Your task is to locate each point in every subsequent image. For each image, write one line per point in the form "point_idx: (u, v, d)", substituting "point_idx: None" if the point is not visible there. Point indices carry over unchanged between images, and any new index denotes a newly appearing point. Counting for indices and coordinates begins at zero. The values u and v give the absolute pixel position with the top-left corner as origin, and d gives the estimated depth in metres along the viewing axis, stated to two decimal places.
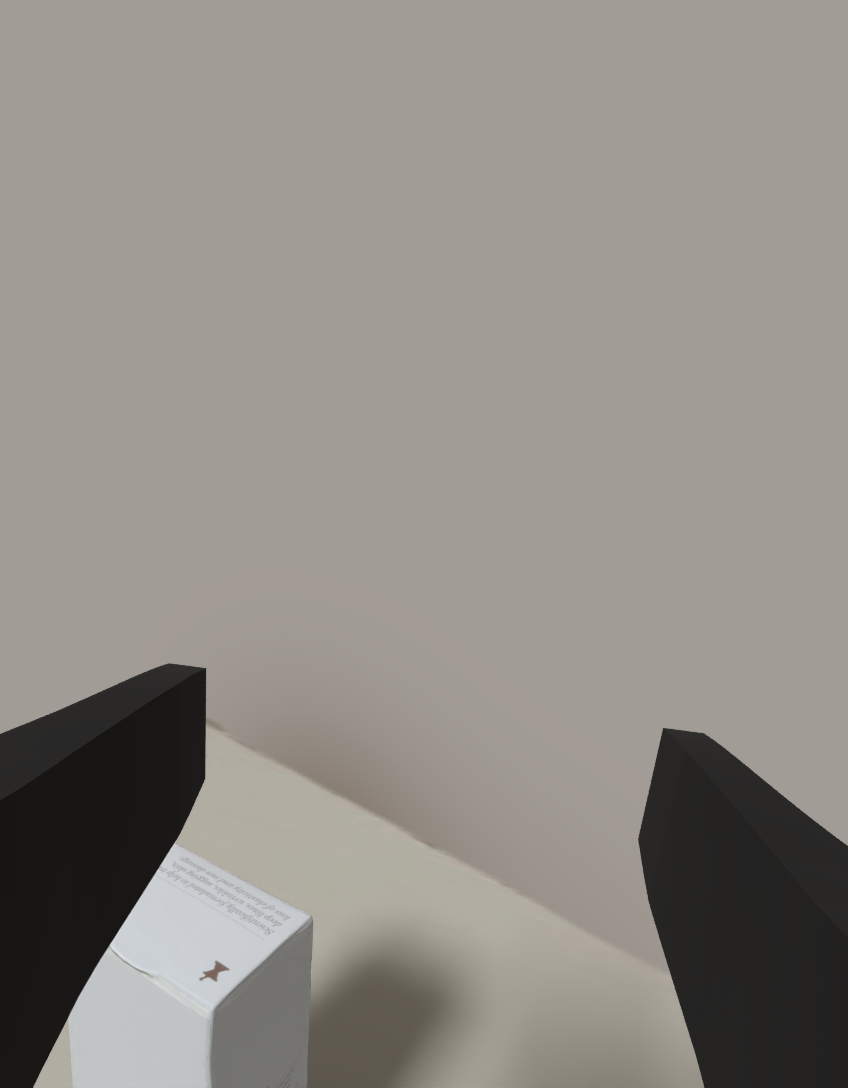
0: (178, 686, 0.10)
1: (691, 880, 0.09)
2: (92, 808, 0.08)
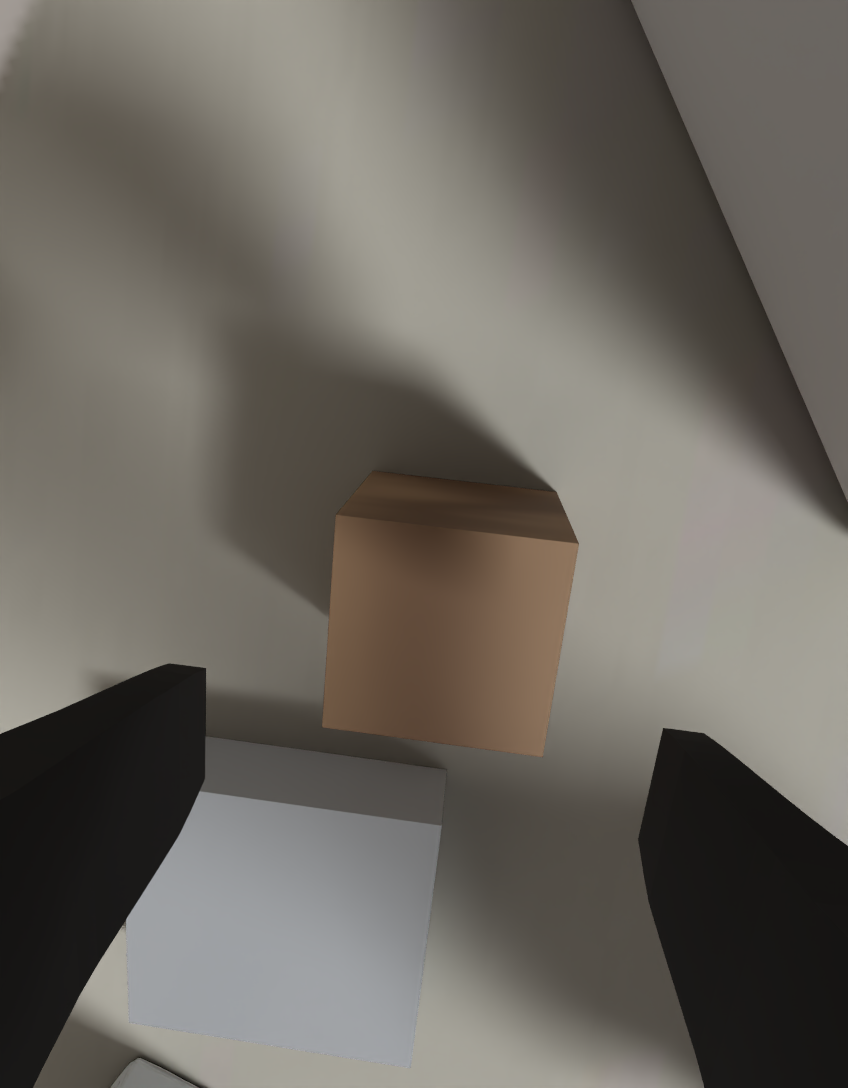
0: (178, 686, 0.10)
1: (692, 880, 0.09)
2: (92, 808, 0.08)
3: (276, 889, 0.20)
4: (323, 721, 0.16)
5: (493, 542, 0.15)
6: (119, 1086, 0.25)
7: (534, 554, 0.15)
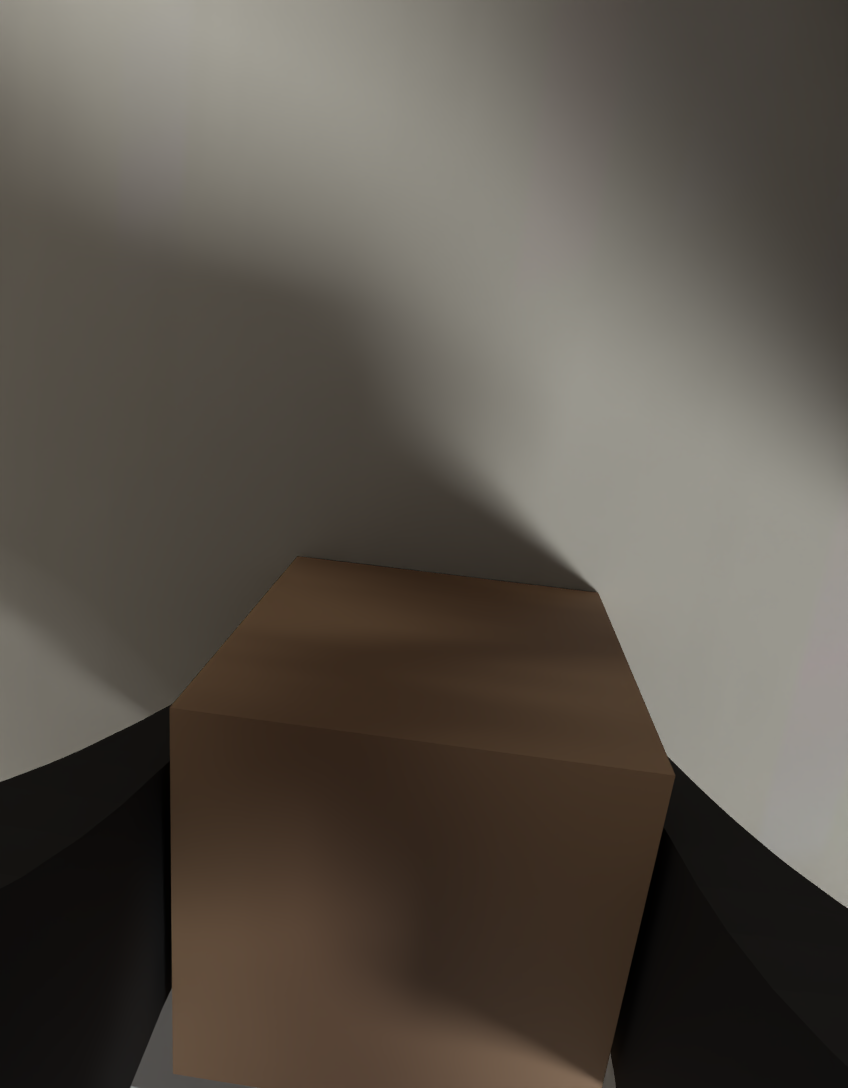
0: None
1: None
2: None
3: None
4: (177, 1059, 0.09)
5: (494, 767, 0.07)
6: None
7: (582, 793, 0.07)
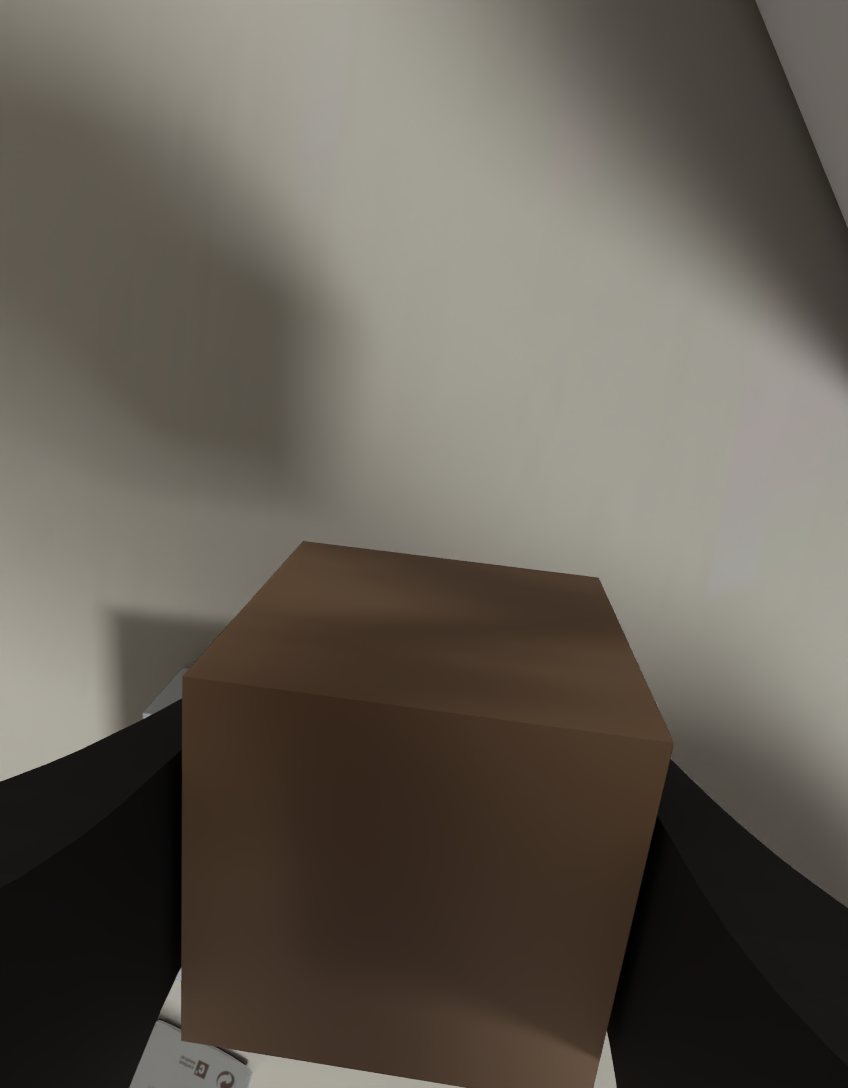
0: None
1: None
2: (177, 820, 0.08)
3: None
4: (185, 1026, 0.09)
5: (498, 735, 0.07)
6: None
7: (583, 761, 0.07)
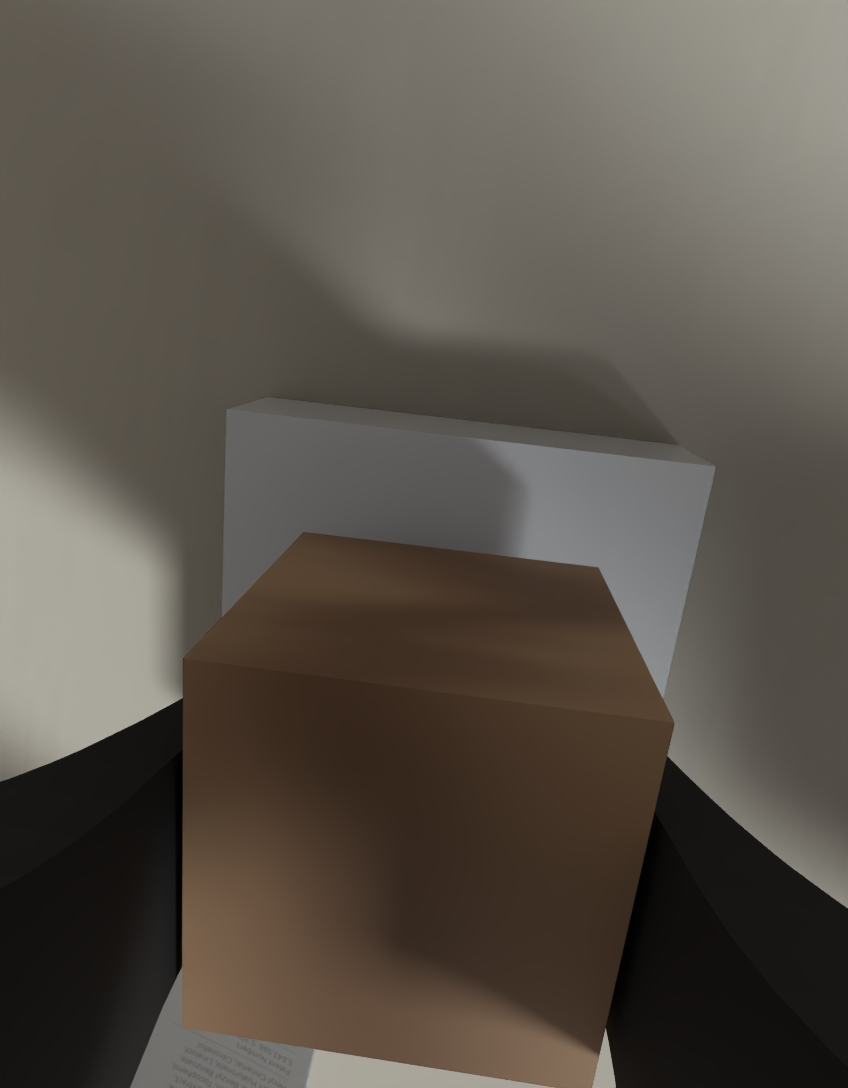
0: None
1: None
2: (178, 820, 0.08)
3: None
4: (185, 1014, 0.09)
5: (500, 716, 0.07)
6: None
7: (584, 741, 0.07)
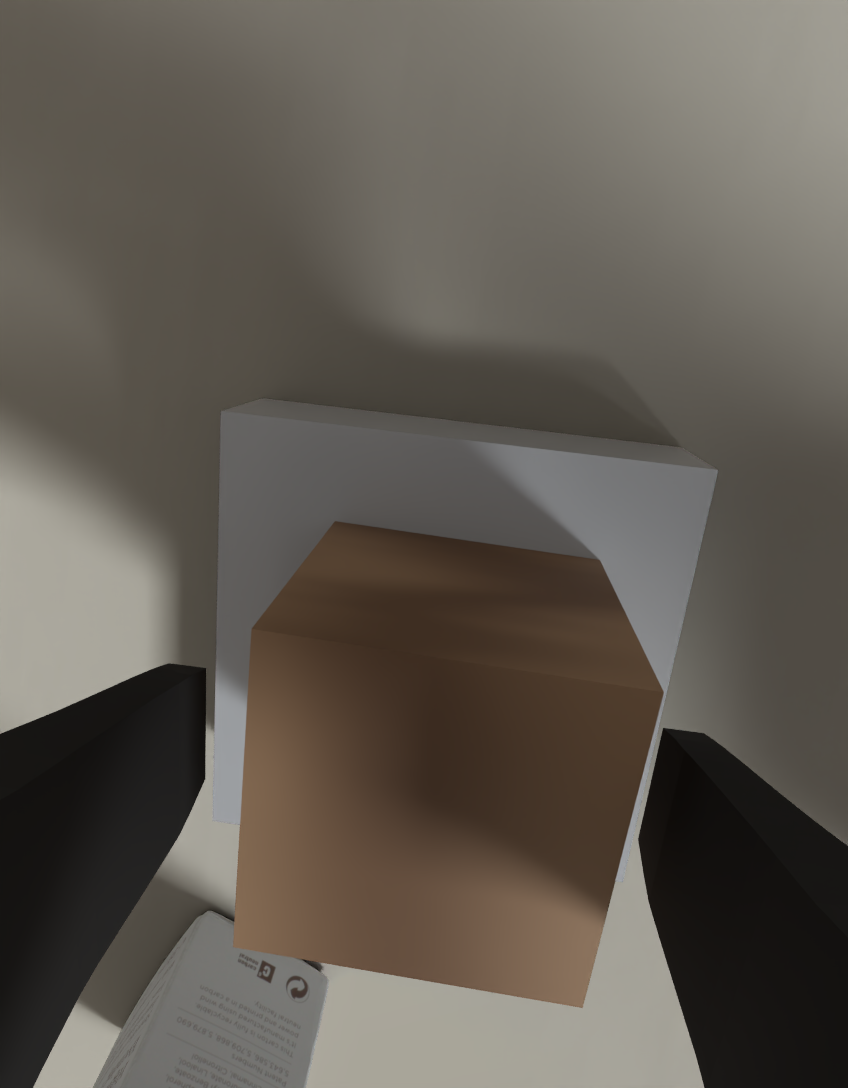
0: (178, 686, 0.10)
1: (691, 879, 0.09)
2: (92, 808, 0.08)
3: None
4: (236, 936, 0.10)
5: (518, 683, 0.09)
6: (186, 941, 0.18)
7: (587, 705, 0.09)
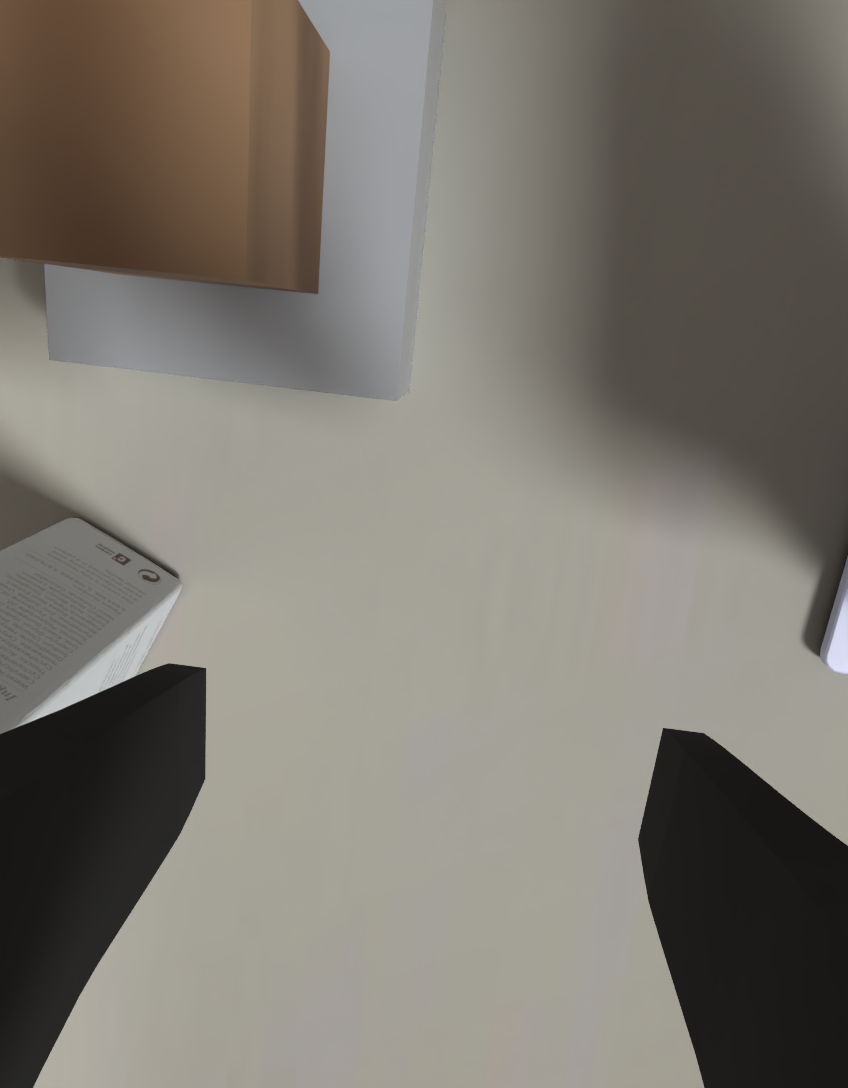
0: (178, 686, 0.10)
1: (692, 879, 0.09)
2: (92, 808, 0.08)
3: None
4: None
5: None
6: None
7: None
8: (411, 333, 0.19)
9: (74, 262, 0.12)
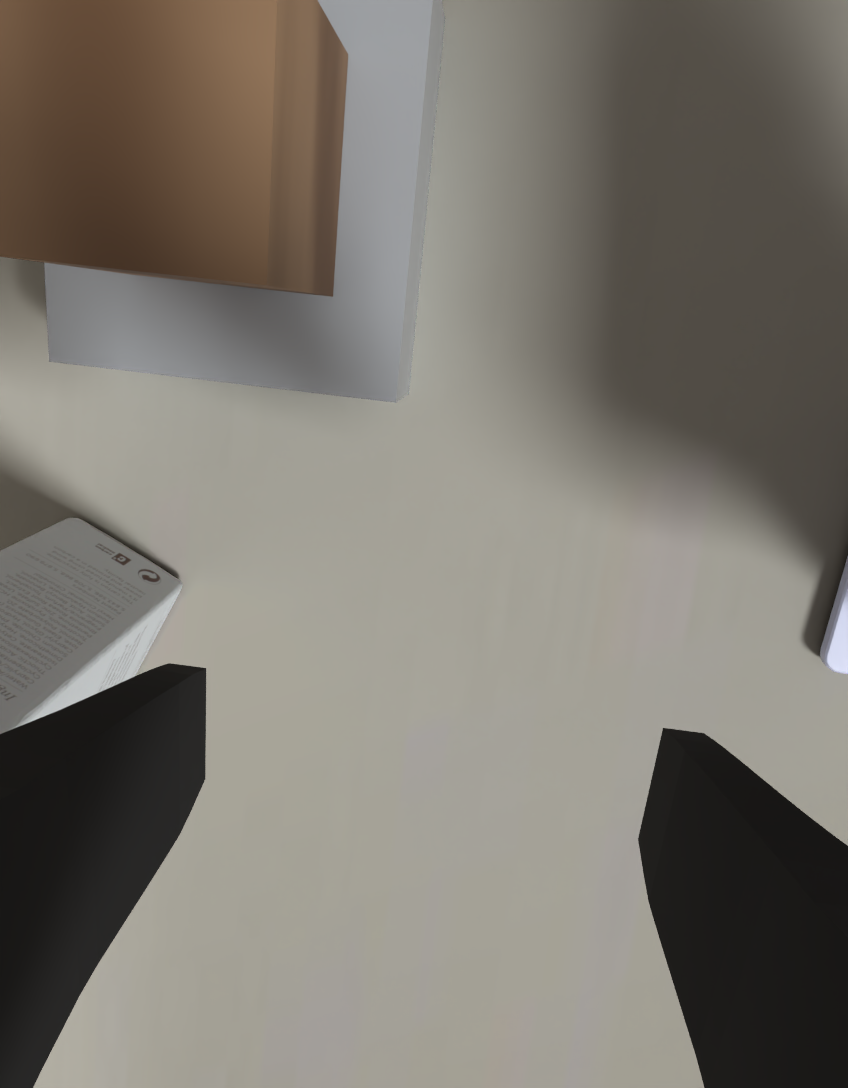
0: (178, 686, 0.10)
1: (692, 879, 0.09)
2: (92, 808, 0.08)
3: None
4: None
5: None
6: (50, 527, 0.21)
7: None
8: (411, 335, 0.19)
9: (94, 265, 0.12)
